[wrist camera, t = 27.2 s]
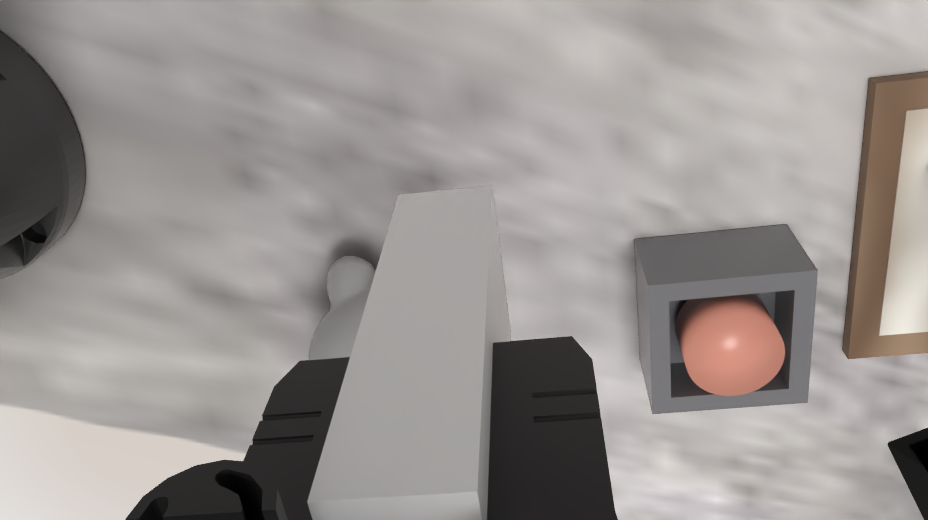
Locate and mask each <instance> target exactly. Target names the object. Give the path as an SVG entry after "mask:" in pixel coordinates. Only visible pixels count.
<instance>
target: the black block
mask: <svg viewBox="0 0 928 520" xmlns="http://www.w3.org/2000/svg"><path fill="white" fill-rule="evenodd" d="M888 447H889V449H890V451H891V453H892V455H893V457H894V459H895V461H896V463H897V465H898V467H899V469H900V471H901V473H902V475H903V477H904V479H905V481H906V483H907V485H908V488H909V490H910V492H911V494H912V496H913V498H914V500H915V502H916V504H917V506H918V508H919V510H920V512H921V514H922V516H923V518H924V520H928V428H926V429H923V430H921V431H918V432H915V433H912V434H910V435H907V436H904V437H902V438H899V439H896V440H894V441H891V442H889V443H888Z"/></svg>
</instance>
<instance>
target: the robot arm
mask: <svg viewBox="0 0 928 520" xmlns="http://www.w3.org/2000/svg"><path fill="white" fill-rule="evenodd" d="M84 185H85V163H84V155H83V149H82V145H81V141H80V137H79V134H78V131H77V128H76V125H75V123H74V120H73V118H72V116H71V114H70V112H69V110H68V108H67V106H66V104H65V102H64V100H63V99H62V97H61V95H60V94H59V92H58V91H57V89H56V88H55V86H54V85H53V83H52V82H51V81H50V79H49V78H48V77H47V75H46V74H45V73H44V72H43V70H42V69H41V68H40V67H39V66H38V65H37V64H36V63H35V62H34V60H33V59H32V58H31V57H30V56H29V55H28V54H27V53H25V52H24V51H23V50H22V49H21V48H20V47H19V46H18V45H17V44H15V43H14V42H13V41H12V40H11V39H9V38H8V37H7V36H5V35H4V34H3V33H1V32H0V279H1V278H4V277H7V276H9V275H12V274H14V273H16V272H18V271H20V270H22V269H23V268H25V267H27V266H28V265H30V264H32V263H33V262H34V261H36V260H37V259H38V258H39V257H40V256H42V255H43V254H44V253H45V252H46V251H47V250H48V249H49V248H50V247H51V246H52V245H54V244H55V243H56V242H57V241H58V240H59V239H60V238H61V237H62V236H63V235H64V234H65V232H66V231H67V230H68V228H69V227H70V226H71V224H72V222H73V221H74V219H75V217H76V215H77V212H78V210H79V207H80V204H81V201H82V197H83V192H84ZM262 416H263V421H260V422H259V425H258V427H257V430H256V432H255V434H254V437H253V445H250V446H249V449H248V451H247V454H246V456H245V459H244V461H232V460H221V461H216V462H211V463H206V464H201V465H197V466H194V467H191V468H189V469H187V470H185V471H183V472H180V473H178V474H176V475H174V476H172V477H169V478H167V479H166V480H165V481H163V482H162V483H161V484H159V485H158V486H157V487H155V488H154V489H153V490H151V491H150V492H149V493H147V494H146V495H145V496H143V497H142V499H141V500H140V501H139V503H138V504H137V505H136V506H135V508H134V509H133V510H132V511H131V513H130V514H129V515H128V517H127V518H126V520H618V519H617V516H616V513H615V509H614V502H613V495H612V489H611V482H610V475H609V469H608V462H607V455H606V449H605V442H604V435H603V429H602V422H601V417H600V409H599V402H598V395H597V389H596V382H595V375H594V369H593V362H592V359H591V358H590V356H589V355H588V354H587V353H586V352H585V351H584V350H583V348H582V347H581V346H580V345H579V344H578V343H577V342H576V341H575V339H574V338H573V337H572V336H570V337H557V338H545V339H533V340H520V341H511V330H510V322H509V314H508V306H507V298H506V290H505V282H504V274H503V266H502V258H501V250H500V242H499V234H498V226H497V218H496V210H495V202H494V194H493V186H492V185H489V186H479V187H469V188H460V189H450V190H440V191H430V192H420V193H410V194H401V195H398V198H397V201H396V204H395V208H394V211H393V214H392V218H391V221H390V225H389V228H388V231H387V235H386V238H385V241H384V245H383V248H382V252H381V255H380V258H379V262H378V265H377V268H376V272H375V275H374V278H373V282H372V285H371V289H370V292H369V295H368V299H367V302H366V305H365V309H364V312H363V316H362V319H361V322H360V326H359V329H358V332H357V336H356V339H355V342H354V346H353V349H352V353H351V356H350V357H343V358H331V359H318V360H306V361H299V362H298V363H297V364H296V365H295V366H294V367H293V368H292V369H291V370H290V371H289V372H288V373H287V374H286V375H285V376H284V377H283V378H282V379H281V380H280V381H279V382H278V383H277V384H276V385H275V386H274V389H273V391H272V393H271V396H270V398H269V401H268V403H267V405H266V408H265V410H264V413H263V415H262Z"/></svg>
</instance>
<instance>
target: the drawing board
mask: <svg viewBox="0 0 928 520" xmlns="http://www.w3.org/2000/svg"><path fill="white" fill-rule="evenodd" d="M842 350H843V352H844V353H845V355H846V356H847V358H848V359H855V358H868V357H880V356H893V355H905V354H918V353H928V71H927V72H918V73H910V74H901V75H892V76H884V77H875V78H869V82H868V93H867V103H866V113H865V124H864V134H863V144H862V154H861V165H860V175H859V185H858V195H857V206H856V216H855V226H854V236H853V247H852V257H851V267H850V277H849V288H848V298H847V308H846V318H845V329H844V339H843V349H842Z"/></svg>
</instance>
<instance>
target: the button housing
mask: <svg viewBox="0 0 928 520" xmlns="http://www.w3.org/2000/svg"><path fill="white" fill-rule="evenodd" d="M634 244H635V266H636V288H637V310H638V332H639V354H640V363H641V367H642V371H643V375H644V380H645V384H646V388H647V393H648V397H649V401H650V405H651V410H652V414H660V413H673V412H687V411H701V410H714V409H728V408H741V407H755V406H768V405H782V404H795V403H808V390H809V377H810V364H811V351H812V337H813V324H814V311H815V298H816V285H817V271H818V270H817V269H816V267H815V266H814V264H813V263H812V261H811V260H810V258H809V257H808V255H807V254H806V252H805V251H804V249H803V248H802V246H801V245H800V243H799V242H798V240H797V239H796V237H795V236H794V234H793V233H792V231H791V230H790V228H789V227H788V225H787V224H783V225H773V226H763V227H752V228H742V229H732V230H722V231H712V232H701V233H691V234H681V235H671V236H661V237H650V238H640V239H634ZM745 294H756V295H757V296H758V297H759V298H760V299H761V300H762V301H763V303H764V304H765V306H766V308H767V310H768V312H769V314H770V316H771V318H772V320H773V322H774V324H775V326H776V328H777V329H778V331H779V333H780V335H781V337H782V339H783V342H784V346H785V357H784V361H783V364H782V366H781V369H780V370H779V372H778V373H777V375H776V376H775V377H774V378H773V379H772V380H771V381H770V382H769V383H767V384H766V385H765V386H763V387H761V388H760V389H758V390H755V391H753V392H750V393H747V394H743V395H737V396H721V395H716V394H713V393H710V392H707V391H705V390H703V389H702V388H700V387H699V386H698V385H696V384H695V383H694V381H693V380H692V379H691V377H690V376H689V374H688V372H687V368H686V365H685V362H684V359H683V356H682V353H681V349H680V346H679V343H678V340H677V336H676V332H675V323H676V318H677V316H678V313H679V311H680V310H681V308H682V307H683V305H684V304H685V303H686V302H687V301H688V300H689V299H700V298H711V297H722V296H733V295H745Z"/></svg>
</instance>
